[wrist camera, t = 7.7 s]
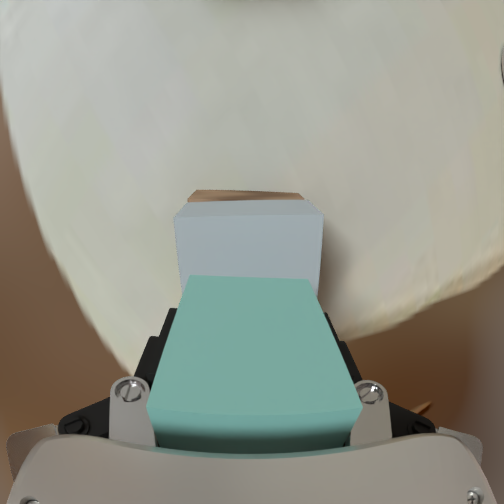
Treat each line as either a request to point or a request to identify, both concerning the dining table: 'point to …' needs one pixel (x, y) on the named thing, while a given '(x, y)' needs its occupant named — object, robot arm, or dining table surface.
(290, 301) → the block
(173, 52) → the dining table surface
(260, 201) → the tower top
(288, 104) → the dining table surface
